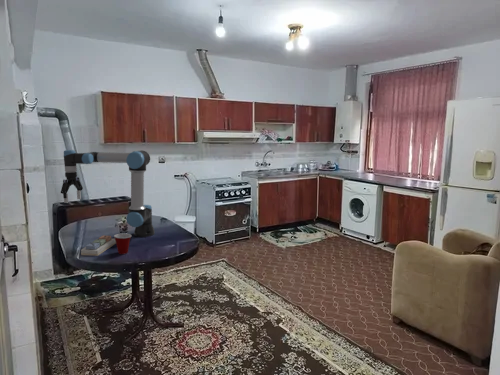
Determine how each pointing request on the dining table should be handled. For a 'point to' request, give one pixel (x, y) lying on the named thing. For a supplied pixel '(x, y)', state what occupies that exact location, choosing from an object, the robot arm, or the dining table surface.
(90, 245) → the tile three
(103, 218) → the dining table surface
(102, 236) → the tile one
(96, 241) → the tile two
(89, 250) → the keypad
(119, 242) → the plastic cup
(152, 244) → the dining table surface
